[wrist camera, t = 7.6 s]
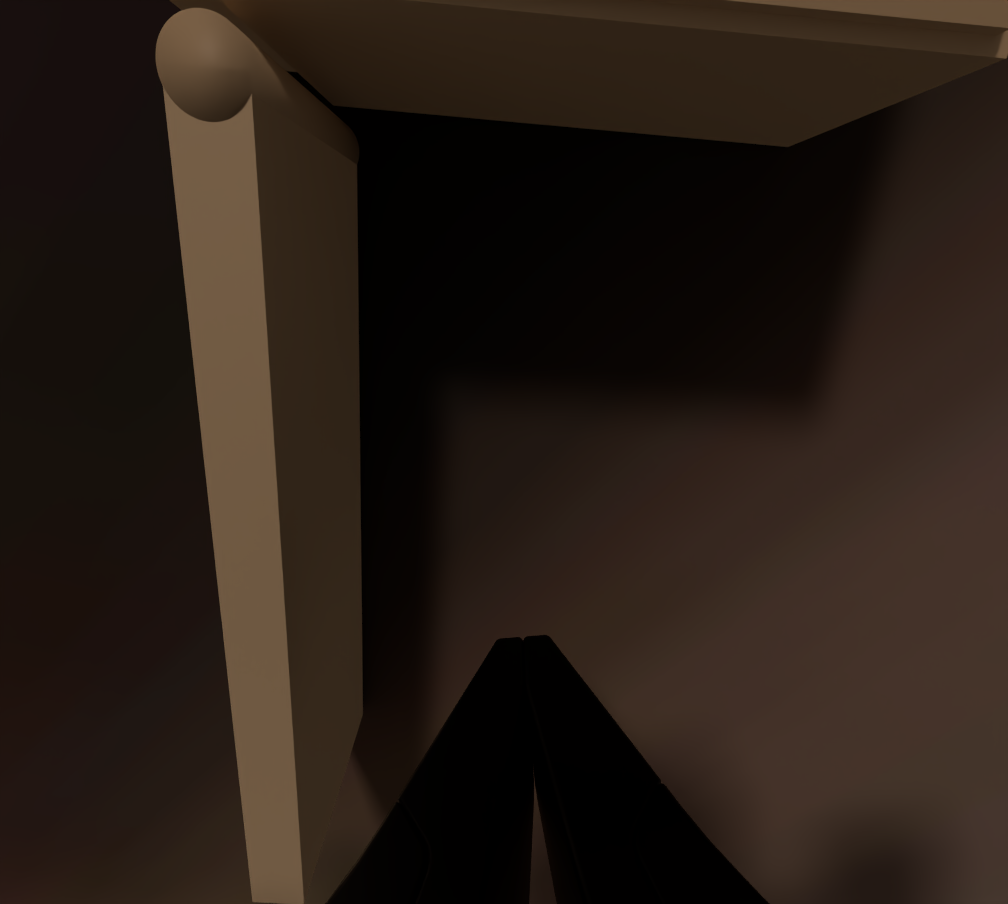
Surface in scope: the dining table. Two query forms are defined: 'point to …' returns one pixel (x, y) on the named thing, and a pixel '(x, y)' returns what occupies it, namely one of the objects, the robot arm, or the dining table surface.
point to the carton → (629, 58)
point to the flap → (274, 420)
